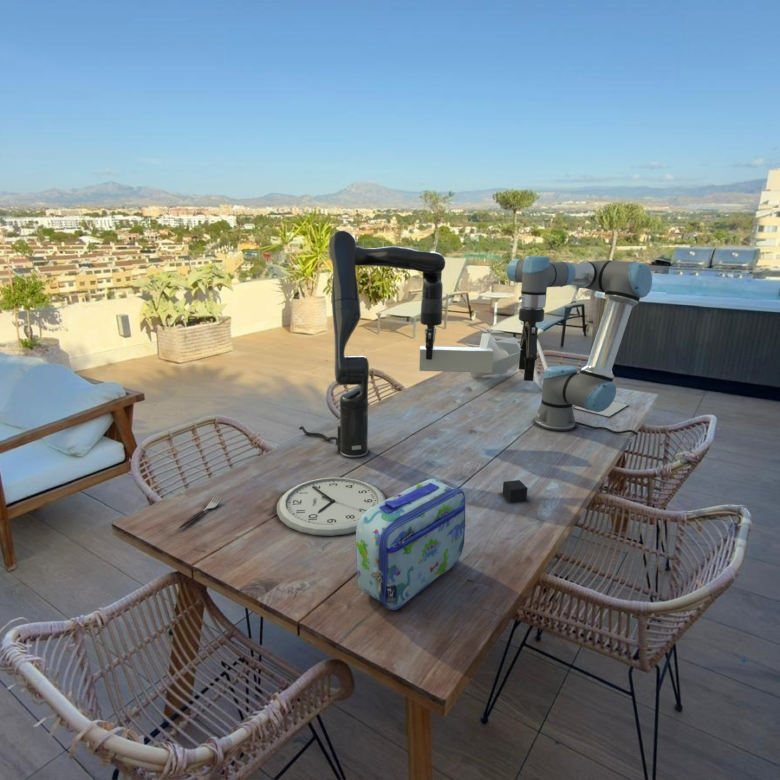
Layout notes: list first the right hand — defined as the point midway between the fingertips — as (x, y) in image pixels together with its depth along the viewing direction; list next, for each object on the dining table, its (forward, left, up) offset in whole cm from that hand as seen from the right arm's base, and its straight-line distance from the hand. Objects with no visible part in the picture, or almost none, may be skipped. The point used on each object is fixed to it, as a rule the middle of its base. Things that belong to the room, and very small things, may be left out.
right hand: (525, 374), depth 166 cm
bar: (+22, -21, -5) cm, 31 cm away
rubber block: (+4, +28, -29) cm, 40 cm away
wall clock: (+54, +40, -29) cm, 73 cm away
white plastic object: (-4, -88, -29) cm, 93 cm away
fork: (+87, +50, -29) cm, 104 cm away
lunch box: (+30, +69, -29) cm, 81 cm away
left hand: (+32, -21, -1) cm, 38 cm away
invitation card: (-42, -59, -29) cm, 78 cm away
